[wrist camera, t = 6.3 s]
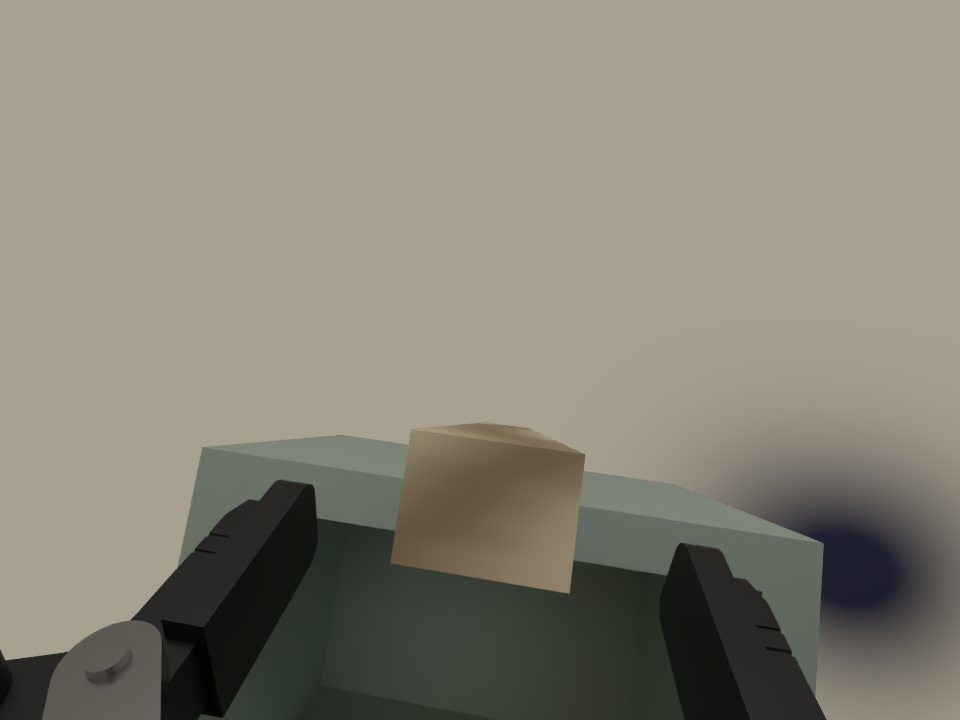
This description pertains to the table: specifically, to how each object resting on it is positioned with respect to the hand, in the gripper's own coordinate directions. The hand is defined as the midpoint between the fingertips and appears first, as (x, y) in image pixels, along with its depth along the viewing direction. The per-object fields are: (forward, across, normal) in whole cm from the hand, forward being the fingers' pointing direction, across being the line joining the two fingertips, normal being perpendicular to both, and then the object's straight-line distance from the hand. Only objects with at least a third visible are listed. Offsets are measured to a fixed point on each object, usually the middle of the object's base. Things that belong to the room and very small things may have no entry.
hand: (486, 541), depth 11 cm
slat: (+9, 0, +6) cm, 11 cm away
